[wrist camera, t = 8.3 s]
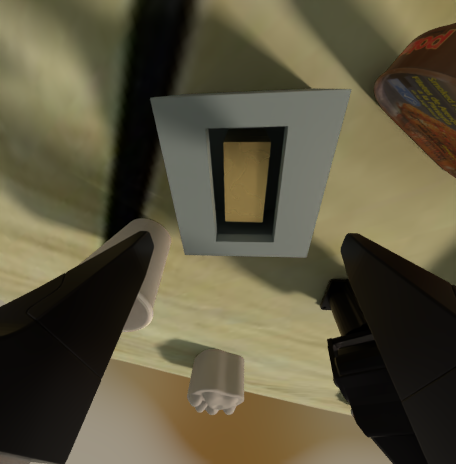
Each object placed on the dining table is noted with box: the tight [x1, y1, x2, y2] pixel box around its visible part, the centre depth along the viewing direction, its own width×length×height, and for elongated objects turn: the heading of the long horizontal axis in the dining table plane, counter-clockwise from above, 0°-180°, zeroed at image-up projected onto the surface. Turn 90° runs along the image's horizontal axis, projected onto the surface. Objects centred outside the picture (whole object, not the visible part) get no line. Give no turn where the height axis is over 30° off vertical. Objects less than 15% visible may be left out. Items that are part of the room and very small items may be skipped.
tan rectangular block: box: [223, 129, 271, 222], centre depth 16 cm, size 6×3×5 cm, turn 1°
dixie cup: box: [79, 218, 171, 332], centre depth 21 cm, size 8×8×10 cm
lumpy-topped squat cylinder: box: [187, 349, 244, 415], centre depth 43 cm, size 10×13×9 cm
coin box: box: [150, 89, 351, 258], centre depth 16 cm, size 11×10×7 cm
